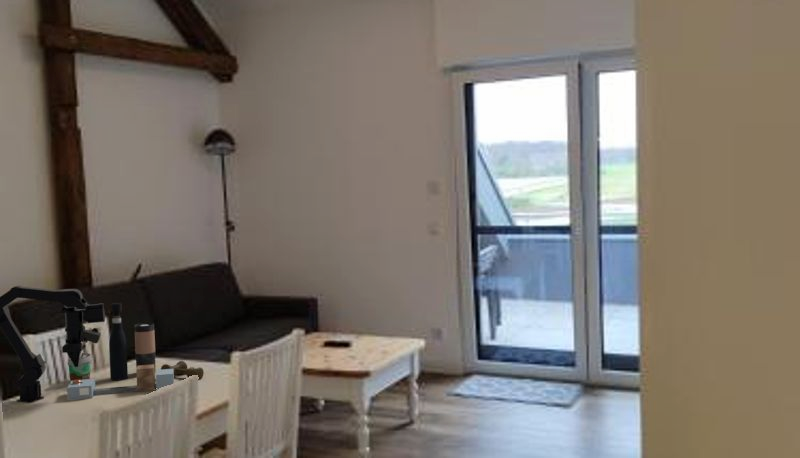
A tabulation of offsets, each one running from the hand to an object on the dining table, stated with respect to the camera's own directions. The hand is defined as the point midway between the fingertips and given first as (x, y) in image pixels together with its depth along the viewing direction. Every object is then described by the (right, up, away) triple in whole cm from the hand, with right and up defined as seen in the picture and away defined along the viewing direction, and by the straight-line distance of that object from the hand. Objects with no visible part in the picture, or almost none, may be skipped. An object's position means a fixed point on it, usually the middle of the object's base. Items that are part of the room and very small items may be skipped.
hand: (76, 366), depth 261 cm
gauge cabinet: (+1, -11, +1) cm, 11 cm away
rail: (+16, -10, +5) cm, 19 cm away
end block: (+29, -10, +9) cm, 32 cm away
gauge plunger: (0, -10, 0) cm, 10 cm away
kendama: (+31, -9, +24) cm, 40 cm away
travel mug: (+14, -9, +32) cm, 36 cm away
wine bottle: (+6, -9, +24) cm, 26 cm away
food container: (-7, -10, +21) cm, 24 cm away
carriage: (+23, -10, +7) cm, 26 cm away
